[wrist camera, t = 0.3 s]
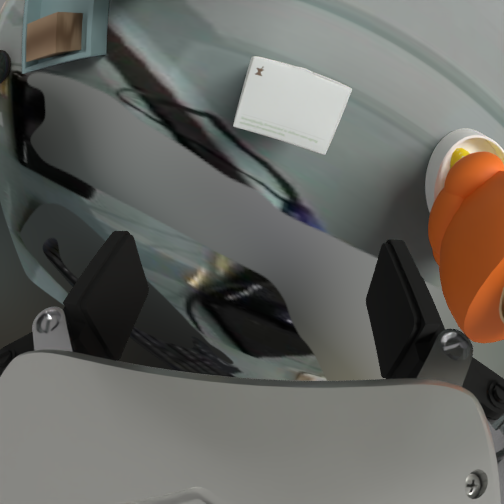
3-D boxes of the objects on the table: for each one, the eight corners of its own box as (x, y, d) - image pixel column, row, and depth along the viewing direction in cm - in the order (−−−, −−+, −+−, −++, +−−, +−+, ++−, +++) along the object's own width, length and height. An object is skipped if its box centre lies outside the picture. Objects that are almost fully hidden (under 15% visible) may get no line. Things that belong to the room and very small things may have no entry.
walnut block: (53, 22, 26) (27, 24, 21) (83, 13, 25) (57, 11, 21) (51, 57, 29) (26, 62, 24) (81, 49, 29) (55, 52, 24)
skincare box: (246, 102, 35) (225, 128, 22) (261, 55, 31) (248, 51, 18) (308, 122, 36) (324, 160, 23) (325, 77, 32) (354, 87, 19)
